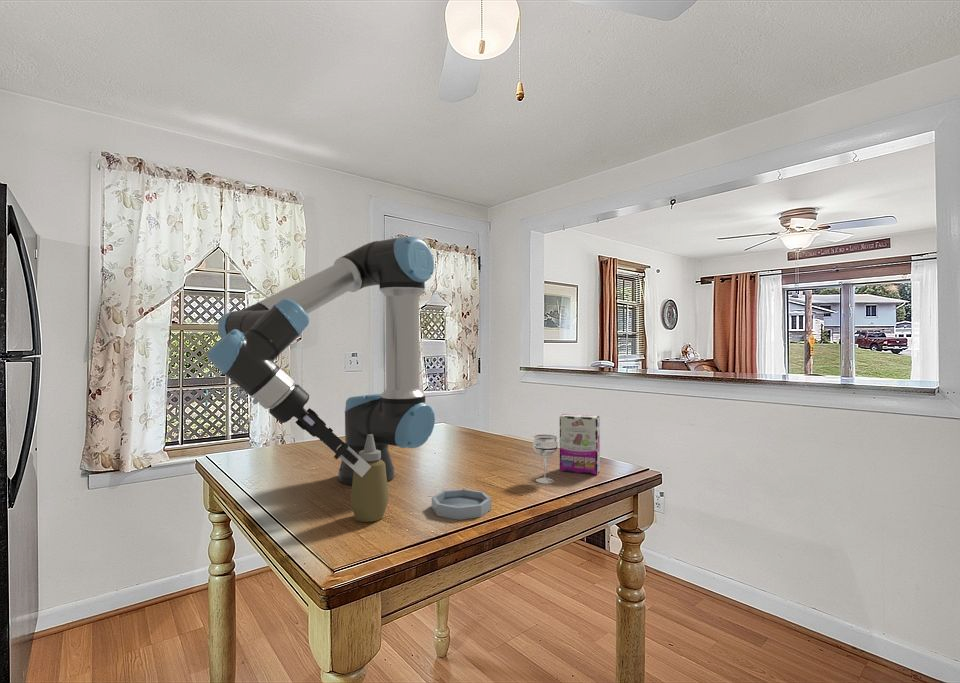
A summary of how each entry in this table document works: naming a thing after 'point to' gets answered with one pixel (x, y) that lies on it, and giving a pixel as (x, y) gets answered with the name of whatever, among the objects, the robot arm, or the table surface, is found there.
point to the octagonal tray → (461, 504)
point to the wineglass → (545, 451)
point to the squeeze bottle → (370, 486)
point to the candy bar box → (580, 443)
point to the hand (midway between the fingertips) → (357, 463)
